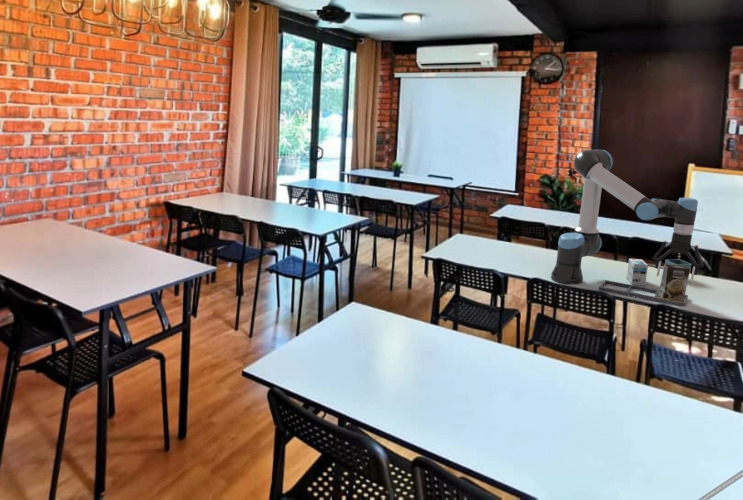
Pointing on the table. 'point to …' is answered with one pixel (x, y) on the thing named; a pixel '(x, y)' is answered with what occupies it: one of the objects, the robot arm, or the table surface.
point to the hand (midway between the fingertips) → (674, 278)
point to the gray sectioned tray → (640, 294)
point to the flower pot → (678, 262)
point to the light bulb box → (637, 271)
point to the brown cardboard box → (674, 282)
